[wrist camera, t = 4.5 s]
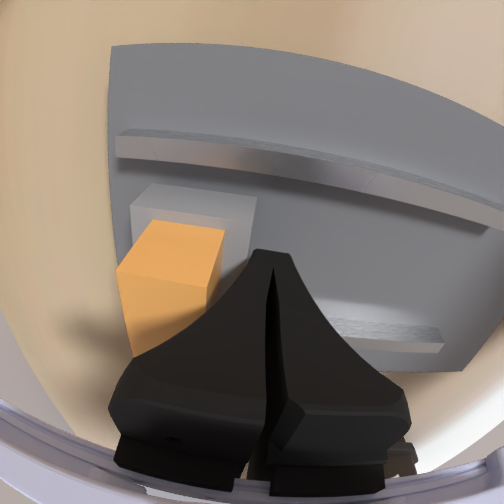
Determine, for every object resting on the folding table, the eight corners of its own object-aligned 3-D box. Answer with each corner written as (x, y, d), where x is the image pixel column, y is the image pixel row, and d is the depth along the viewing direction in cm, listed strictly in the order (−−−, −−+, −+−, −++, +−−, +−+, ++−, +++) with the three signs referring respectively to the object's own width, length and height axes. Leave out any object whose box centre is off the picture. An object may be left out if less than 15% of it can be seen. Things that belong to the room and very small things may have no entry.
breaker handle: (257, 197, 11) (242, 279, 7) (243, 290, 14) (227, 382, 10) (151, 183, 11) (87, 252, 7) (155, 275, 14) (113, 357, 10)
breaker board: (551, 159, 10) (586, 182, 8) (453, 350, 18) (466, 384, 16) (134, 47, 10) (94, 45, 8) (141, 312, 18) (123, 351, 16)
